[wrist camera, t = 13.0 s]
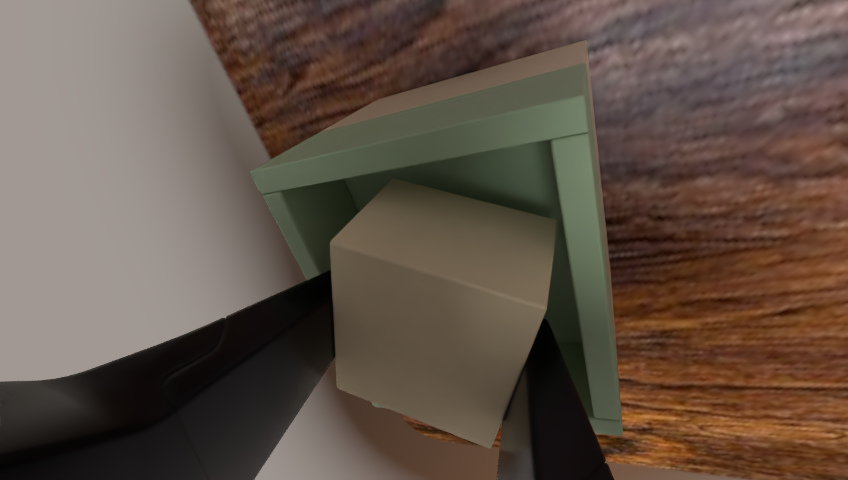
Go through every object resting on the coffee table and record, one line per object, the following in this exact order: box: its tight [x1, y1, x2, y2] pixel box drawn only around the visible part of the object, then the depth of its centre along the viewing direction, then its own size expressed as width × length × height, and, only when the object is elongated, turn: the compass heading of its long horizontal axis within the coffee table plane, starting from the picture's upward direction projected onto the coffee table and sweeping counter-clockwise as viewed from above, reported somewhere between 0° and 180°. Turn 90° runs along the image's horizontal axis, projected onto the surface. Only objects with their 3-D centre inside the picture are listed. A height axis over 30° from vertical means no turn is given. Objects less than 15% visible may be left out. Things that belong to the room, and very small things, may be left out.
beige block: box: [330, 179, 558, 448], centre depth 9 cm, size 5×4×3 cm
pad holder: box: [250, 40, 623, 436], centre depth 12 cm, size 8×7×7 cm
